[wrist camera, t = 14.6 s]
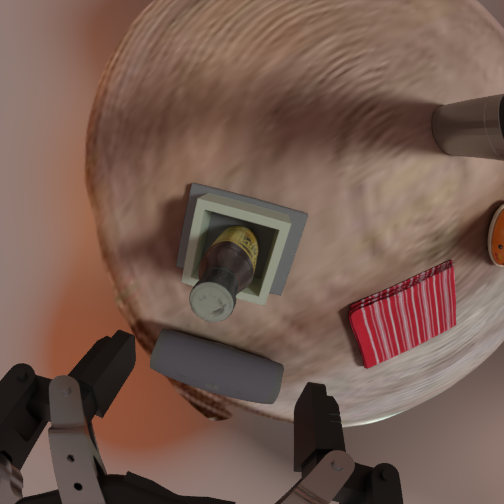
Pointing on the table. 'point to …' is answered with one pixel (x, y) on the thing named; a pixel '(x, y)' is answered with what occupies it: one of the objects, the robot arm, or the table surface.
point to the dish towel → (405, 314)
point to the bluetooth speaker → (216, 367)
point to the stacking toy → (497, 238)
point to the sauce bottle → (224, 273)
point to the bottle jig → (248, 215)
